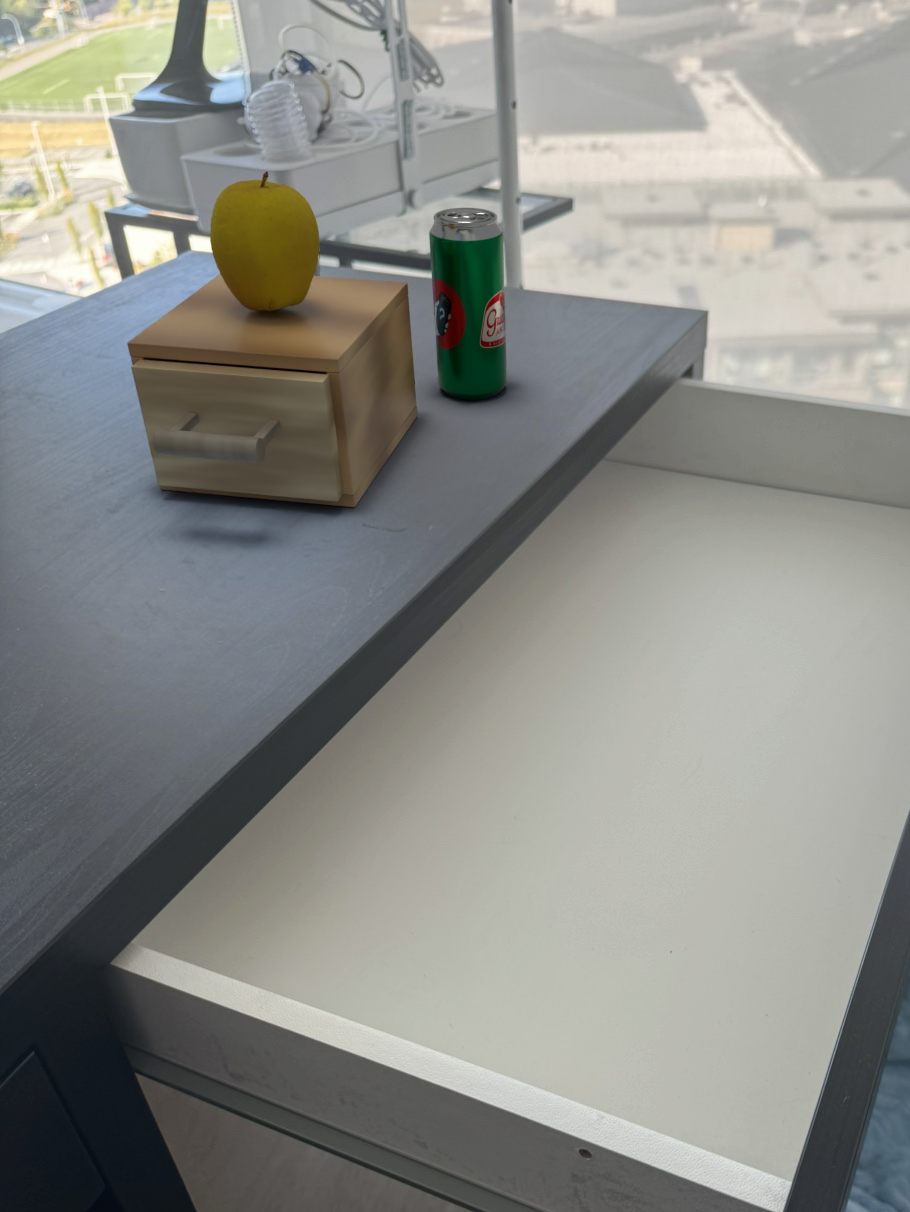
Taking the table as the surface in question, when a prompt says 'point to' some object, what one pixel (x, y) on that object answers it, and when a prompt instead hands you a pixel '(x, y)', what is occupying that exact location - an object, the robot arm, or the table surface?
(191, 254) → the table surface
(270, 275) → the apple
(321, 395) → the drawer
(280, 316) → the cabinet
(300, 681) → the table surface
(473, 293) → the soda can
